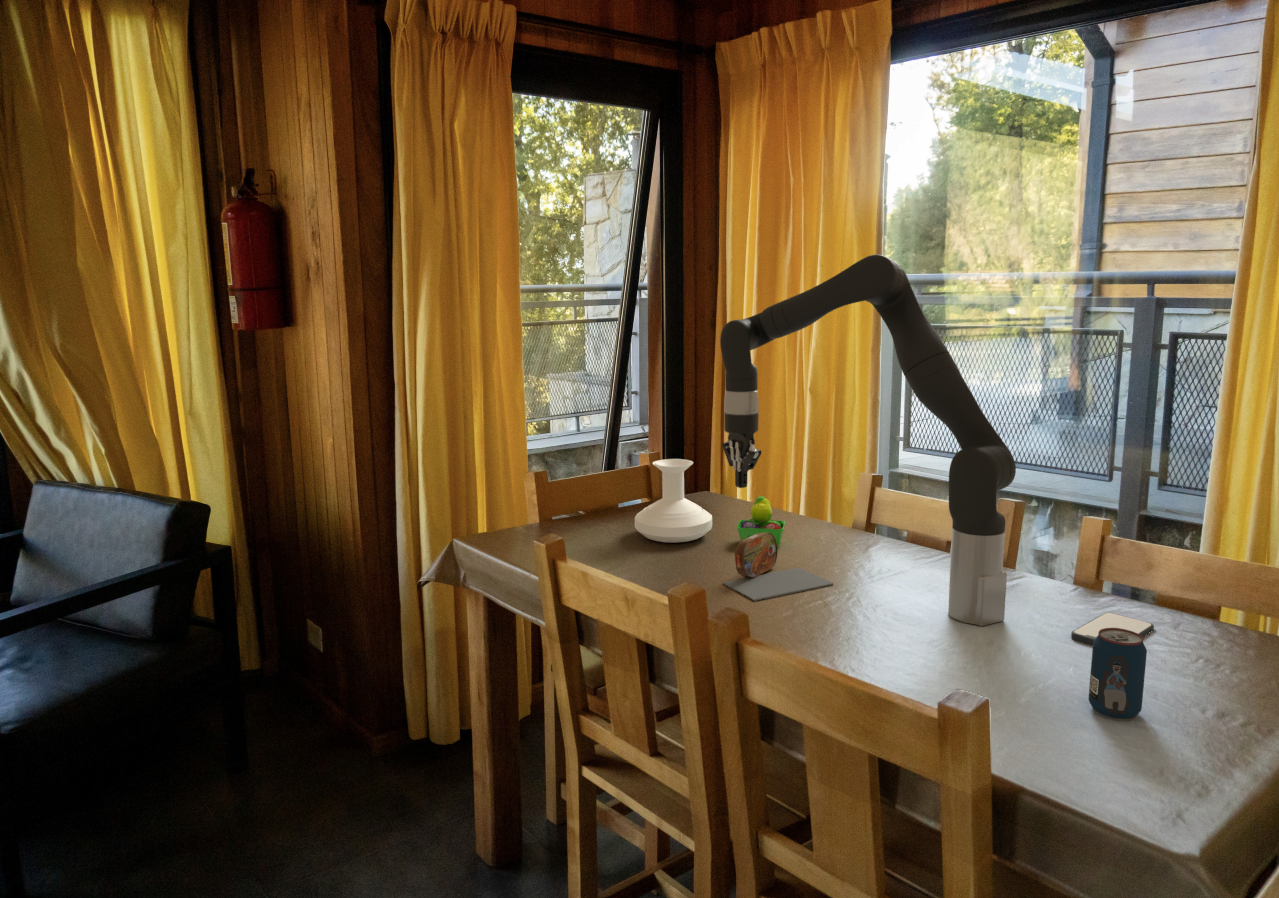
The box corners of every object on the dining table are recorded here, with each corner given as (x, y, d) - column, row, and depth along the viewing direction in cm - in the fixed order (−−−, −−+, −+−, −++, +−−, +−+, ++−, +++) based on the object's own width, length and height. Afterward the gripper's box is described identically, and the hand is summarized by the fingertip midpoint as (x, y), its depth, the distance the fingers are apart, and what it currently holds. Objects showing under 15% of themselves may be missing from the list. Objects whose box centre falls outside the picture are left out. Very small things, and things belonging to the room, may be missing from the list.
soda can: (1123, 699, 133) (1130, 625, 131) (1151, 722, 126) (1158, 643, 124) (1078, 701, 133) (1084, 626, 131) (1104, 723, 126) (1110, 645, 124)
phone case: (1105, 618, 166) (1067, 640, 156) (1106, 610, 166) (1068, 631, 156) (1156, 632, 159) (1120, 655, 149) (1157, 624, 159) (1121, 646, 149)
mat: (833, 584, 186) (833, 583, 185) (754, 601, 177) (754, 599, 177) (799, 569, 196) (799, 567, 196) (723, 584, 188) (723, 582, 187)
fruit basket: (736, 547, 214) (735, 502, 211) (740, 537, 222) (740, 493, 220) (783, 549, 211) (783, 504, 209) (785, 539, 219) (786, 495, 217)
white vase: (622, 532, 228) (620, 460, 225) (689, 522, 237) (689, 452, 233) (655, 552, 211) (654, 474, 207) (727, 541, 219) (727, 465, 215)
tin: (745, 581, 187) (744, 543, 186) (733, 580, 189) (731, 542, 188) (779, 565, 198) (778, 529, 198) (767, 564, 200) (765, 528, 199)
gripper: (772, 413, 188) (771, 491, 192) (739, 405, 200) (739, 479, 203) (743, 415, 185) (743, 495, 188) (711, 408, 197) (711, 483, 200)
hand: (741, 486), depth 196 cm, fingers closed
